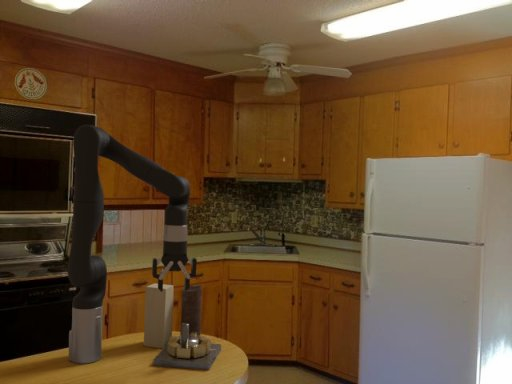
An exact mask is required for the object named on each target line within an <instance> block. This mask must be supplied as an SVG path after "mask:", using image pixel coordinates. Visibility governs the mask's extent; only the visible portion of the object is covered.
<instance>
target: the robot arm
mask: <svg viewBox="0 0 512 384" xmlns="http://www.w3.org/2000/svg"><path fill="white" fill-rule="evenodd" d="M72 141H73V142H72V143H73V145H72V146H73V160H74V180H73V181H74V182H73V183H74V186H73V187H74V188H73V203H72V231H71V241H70V242H71V243H70V251H69V255H68V256H69V257H68V264H67V265H68V266H67V278H68V280H69V282H70V284H71V285H72V286H74V287H75V288H80V290H79V291H78V292H77V294H76V295H75V296H74V297H73V298H72V305H71V306H72V310H71V312H72V313H71V316H72V319H71V329H70V330H69V331H68V332H69V333H68V361H71V362H72V363H74V364H75V363H76V364H91V363H94V362H95V363H96V362H97V361H99V360H101V359H102V351H103V349H102V348H103V347H102V346H103V339H102V338H103V308H104V307H103V303H104V300H105V299H104V298H105V296H106V293H107V292H106V291H107V280H108V279H107V278H108V274H107V273H108V271H107V265H106V262H105V261H106V260H105V259H104V258H103V257H102V256H100V255H96V254H95V255H92V244H93V241H94V239H95V236H96V234H97V232H98V230H99V228H100V225H101V224H102V221H103V217H104V210H105V209H104V204H105V195H104V189H103V185H102V182H101V180H100V177H99V175H100V174H99V168H98V166H99V165H98V164H99V156H100V157H101V158H105V159H108V160H110V161H112V162H114V163H116V165H117V164H118V165H119V166H120V167H122V168H123V169H124V170H125V171H126V172H128V173H129V174H131V175H132V176H134V177H135V178H137V179H138V180H140V181H142V182H144V183H146V184H147V185H150V186H152V187H153V188H154V189H156V190H157V191H158V192H160V193H162V194H163V195H165V196H166V197H168V204H167V207H166V208H165V212H164V228H163V234H162V239H163V241H162V246H163V247H162V256H161V257H160V258H158V257H157V258H156V257H152V259H151V261H152V262H151V263H152V265H151V266H152V272H151V275H152V277H153V278H154V279H157V284H158V289H159V290H160V292H162V291H163V284H164V277H165V276H166V275H167V273H168V272H181V271H182V273H183V274H184V276H185V277H184V286H183V287H184V290H185V291H187V290H188V289H189V287H190V286H191V285H190V283H191V281H190V280H191V278H195V277H196V276H197V262H198V259H197V258H196V257H195V256H192V257H188V208H189V207H188V206H189V202H190V197H191V185H190V182H189V180H188V179H187V178H186V177H184V176H181V175H180V176H179V175H175V174H173V173H172V172H169V171H168V170H167V169H165V168H164V166H162V165H160V164H159V163H157V162H155V161H154V160H152V159H149V158H147V157H146V156H144V155H142V154H140V153H138V152H137V151H134V150H132V149H131V148H129V147H127V146H126V145H124V144H122V143H121V142H120V141H118V139H116V138H114V137H113V136H112V135H111V134H110V133H108V132H107V131H106V130H104V129H103V127H102V128H101V127H98V126H96V125H92V124H91V125H90V124H82V125H80V126H79V127H78V128H77V129H76V130H75V132H74V134H73V140H72ZM188 262H189V264H190V267H191V268H190V272H189V273H188V271H187V269H186V267H185V266H186V264H187V263H188ZM160 263H162V264H163V267H162V269H161V271H160V272H159V273H158V266H159V265H160Z"/></svg>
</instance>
